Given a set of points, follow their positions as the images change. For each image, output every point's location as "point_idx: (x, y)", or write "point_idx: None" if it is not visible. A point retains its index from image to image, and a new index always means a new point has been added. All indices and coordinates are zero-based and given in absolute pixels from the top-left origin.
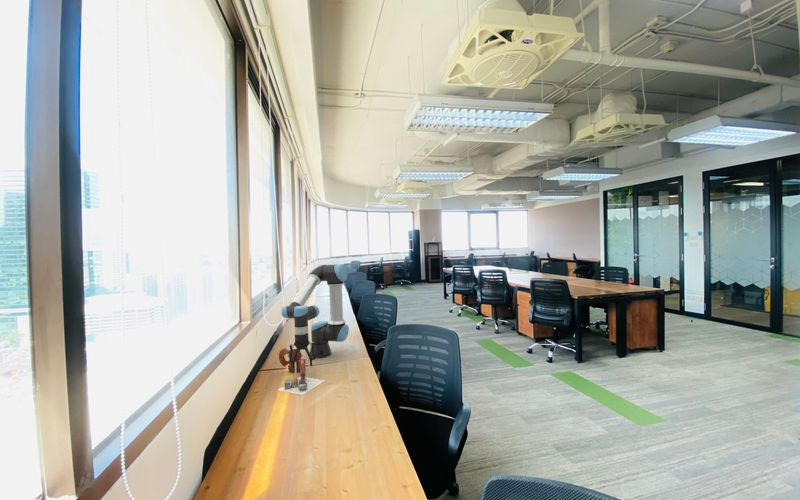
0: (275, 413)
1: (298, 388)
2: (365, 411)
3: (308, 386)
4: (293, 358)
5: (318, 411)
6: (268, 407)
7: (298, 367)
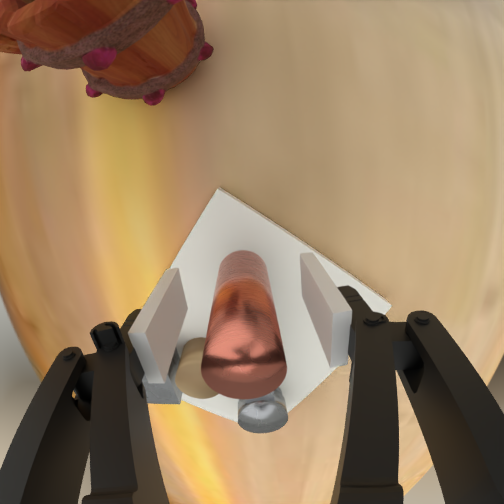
0: (189, 469)
1: None
2: (418, 456)
3: (290, 369)
4: (95, 373)
5: (318, 472)
6: None
7: (170, 76)
